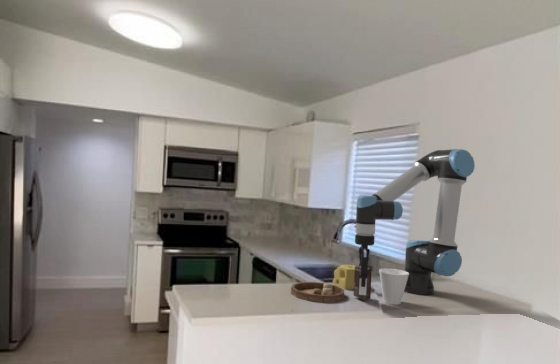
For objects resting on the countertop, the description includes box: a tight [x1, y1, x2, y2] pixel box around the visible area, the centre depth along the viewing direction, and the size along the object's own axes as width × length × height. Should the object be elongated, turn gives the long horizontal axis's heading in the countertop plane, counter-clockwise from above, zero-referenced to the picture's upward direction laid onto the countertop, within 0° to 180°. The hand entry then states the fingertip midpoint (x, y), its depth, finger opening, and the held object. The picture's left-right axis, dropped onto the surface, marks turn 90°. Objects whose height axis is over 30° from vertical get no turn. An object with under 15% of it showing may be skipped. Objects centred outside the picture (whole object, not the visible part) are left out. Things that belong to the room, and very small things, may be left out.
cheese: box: [332, 264, 356, 290], centre depth 191 cm, size 10×11×10 cm
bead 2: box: [322, 288, 332, 295], centre depth 168 cm, size 4×4×4 cm
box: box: [353, 265, 373, 300], centre depth 170 cm, size 6×4×12 cm
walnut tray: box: [290, 281, 345, 303], centre depth 173 cm, size 21×21×4 cm
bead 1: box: [323, 282, 333, 289], centre depth 176 cm, size 4×4×4 cm
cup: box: [378, 268, 409, 306], centre depth 174 cm, size 12×12×12 cm
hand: (362, 292), depth 170 cm, fingers closed on box, 7 cm apart
